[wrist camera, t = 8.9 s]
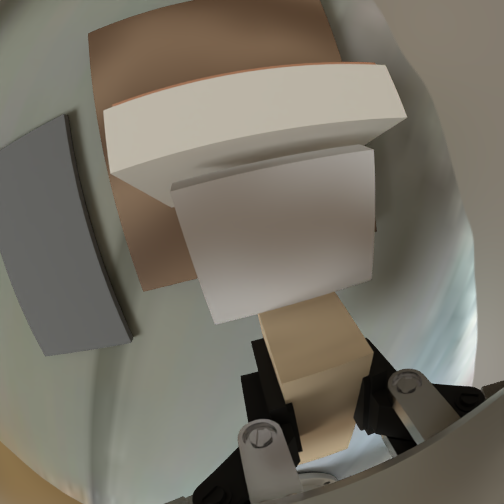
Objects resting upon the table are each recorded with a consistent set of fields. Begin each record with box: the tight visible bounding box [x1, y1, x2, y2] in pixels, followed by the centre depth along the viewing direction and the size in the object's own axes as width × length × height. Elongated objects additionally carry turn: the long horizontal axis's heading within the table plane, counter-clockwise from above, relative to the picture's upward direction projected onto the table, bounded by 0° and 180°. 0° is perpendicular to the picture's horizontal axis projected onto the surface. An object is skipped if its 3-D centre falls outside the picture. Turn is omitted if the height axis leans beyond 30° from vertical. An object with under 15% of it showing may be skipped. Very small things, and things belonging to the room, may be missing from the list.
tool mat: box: [0, 114, 133, 356], centre depth 15 cm, size 15×8×1 cm, turn 13°
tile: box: [103, 62, 407, 208], centre depth 10 cm, size 2×8×8 cm, turn 103°
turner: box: [170, 144, 375, 465], centre depth 9 cm, size 13×6×4 cm, turn 12°
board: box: [88, 0, 377, 292], centre depth 14 cm, size 16×14×2 cm
